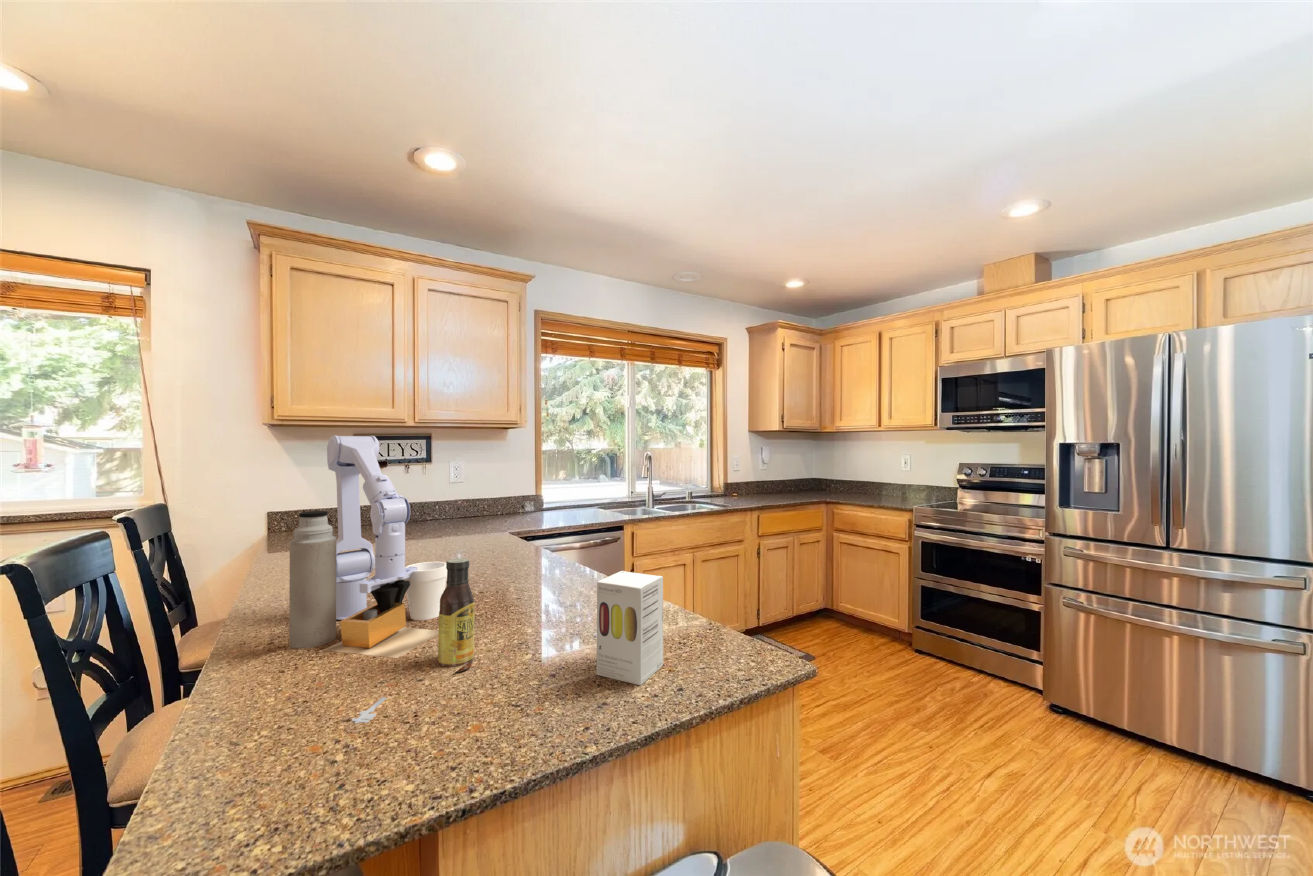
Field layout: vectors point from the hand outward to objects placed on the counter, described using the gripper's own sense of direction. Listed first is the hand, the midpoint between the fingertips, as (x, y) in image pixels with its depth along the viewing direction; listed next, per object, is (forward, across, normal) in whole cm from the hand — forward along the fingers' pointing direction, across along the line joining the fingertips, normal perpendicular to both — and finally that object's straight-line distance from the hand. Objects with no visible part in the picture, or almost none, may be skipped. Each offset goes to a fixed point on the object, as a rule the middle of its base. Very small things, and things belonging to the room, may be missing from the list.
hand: (390, 617), depth 108 cm
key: (+5, -24, -19) cm, 31 cm away
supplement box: (+5, -4, -55) cm, 55 cm away
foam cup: (+5, +10, -1) cm, 11 cm away
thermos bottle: (+5, -8, +12) cm, 15 cm away
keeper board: (+4, -4, -3) cm, 7 cm away
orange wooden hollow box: (+2, -4, 0) cm, 5 cm away
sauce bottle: (+5, -10, -23) cm, 25 cm away
